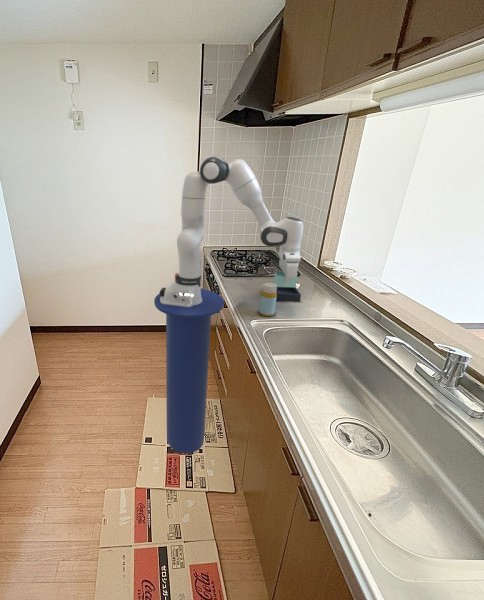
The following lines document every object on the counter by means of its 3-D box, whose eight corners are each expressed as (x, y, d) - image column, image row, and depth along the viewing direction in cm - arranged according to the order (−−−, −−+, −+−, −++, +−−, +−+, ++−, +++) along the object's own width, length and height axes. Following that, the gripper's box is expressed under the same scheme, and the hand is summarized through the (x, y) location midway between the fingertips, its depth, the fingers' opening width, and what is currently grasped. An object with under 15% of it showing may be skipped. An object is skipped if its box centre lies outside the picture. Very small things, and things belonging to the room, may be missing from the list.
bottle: (271, 318, 152) (276, 288, 146) (256, 314, 155) (260, 285, 149) (275, 312, 157) (279, 283, 151) (261, 309, 161) (264, 281, 155)
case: (275, 286, 155) (277, 275, 153) (273, 283, 160) (275, 271, 157) (295, 287, 154) (297, 275, 151) (293, 283, 158) (295, 272, 156)
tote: (270, 300, 171) (271, 293, 169) (266, 290, 184) (267, 283, 183) (299, 301, 169) (301, 294, 167) (293, 291, 182) (294, 284, 181)
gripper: (277, 247, 160) (274, 274, 166) (286, 259, 142) (282, 288, 147) (291, 247, 159) (287, 274, 165) (301, 259, 141) (297, 289, 146)
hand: (285, 281), depth 156 cm, fingers closed on case, 5 cm apart
